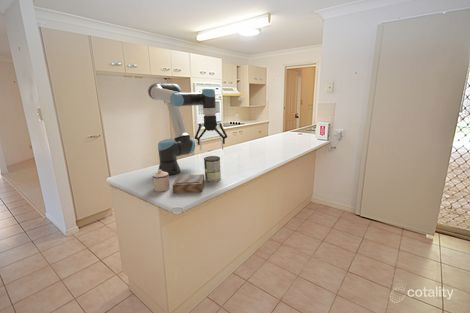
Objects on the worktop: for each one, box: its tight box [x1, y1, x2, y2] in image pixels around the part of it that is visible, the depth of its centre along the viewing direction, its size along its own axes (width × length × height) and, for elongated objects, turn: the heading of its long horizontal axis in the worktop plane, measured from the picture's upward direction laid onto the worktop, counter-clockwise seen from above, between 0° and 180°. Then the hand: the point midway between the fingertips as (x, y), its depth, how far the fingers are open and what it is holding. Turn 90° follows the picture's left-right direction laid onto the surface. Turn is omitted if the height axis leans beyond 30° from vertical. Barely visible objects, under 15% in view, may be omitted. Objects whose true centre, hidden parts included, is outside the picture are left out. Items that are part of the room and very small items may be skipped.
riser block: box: [172, 173, 206, 194], centre depth 135 cm, size 16×16×5 cm
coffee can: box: [203, 155, 222, 183], centre depth 147 cm, size 10×10×14 cm
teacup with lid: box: [151, 170, 171, 193], centre depth 134 cm, size 12×9×12 cm
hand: (211, 149), depth 144 cm, fingers open, 13 cm apart
